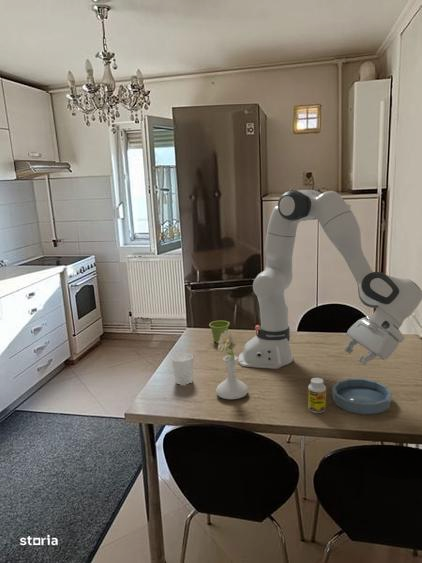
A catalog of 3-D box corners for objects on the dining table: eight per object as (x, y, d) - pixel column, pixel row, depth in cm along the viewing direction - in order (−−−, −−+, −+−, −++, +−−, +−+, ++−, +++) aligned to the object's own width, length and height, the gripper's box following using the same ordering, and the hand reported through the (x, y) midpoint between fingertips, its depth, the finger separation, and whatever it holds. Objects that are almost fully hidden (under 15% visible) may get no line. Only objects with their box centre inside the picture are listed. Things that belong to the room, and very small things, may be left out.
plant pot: (223, 346, 198) (222, 328, 196) (206, 343, 203) (205, 325, 201) (234, 339, 206) (233, 322, 204) (217, 336, 211) (216, 319, 209)
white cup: (185, 375, 171) (183, 351, 168) (198, 381, 165) (197, 356, 163) (169, 382, 165) (167, 357, 163) (183, 388, 160) (181, 363, 157)
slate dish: (337, 414, 136) (337, 404, 136) (329, 387, 154) (329, 378, 153) (397, 414, 134) (398, 404, 133) (381, 387, 152) (382, 378, 151)
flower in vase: (216, 387, 159) (212, 322, 153) (247, 386, 158) (244, 321, 153) (215, 405, 146) (211, 335, 140) (249, 404, 146) (246, 334, 140)
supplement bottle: (307, 412, 138) (307, 383, 136) (309, 404, 143) (308, 375, 141) (325, 414, 137) (325, 385, 134) (326, 406, 142) (326, 377, 139)
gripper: (359, 309, 147) (332, 340, 148) (395, 328, 128) (364, 363, 128) (371, 320, 149) (344, 351, 150) (408, 340, 129) (377, 375, 130)
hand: (354, 357), depth 139 cm, fingers open, 8 cm apart
